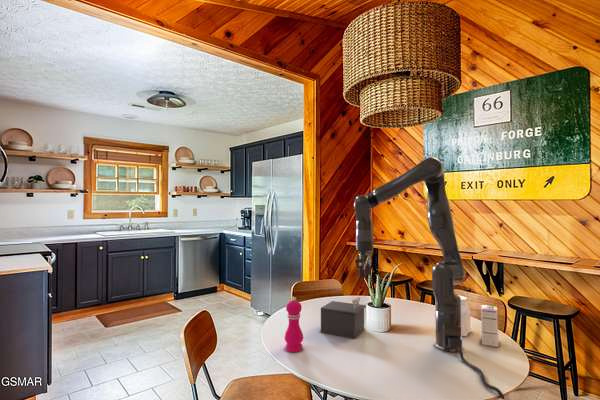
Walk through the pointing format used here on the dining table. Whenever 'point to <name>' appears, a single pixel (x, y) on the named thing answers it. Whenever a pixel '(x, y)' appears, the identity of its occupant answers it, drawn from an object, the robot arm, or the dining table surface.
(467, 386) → the dining table surface
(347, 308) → the lid
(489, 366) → the dining table surface
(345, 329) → the dark lidded box
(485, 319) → the syrup box
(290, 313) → the pepper mill
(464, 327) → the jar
